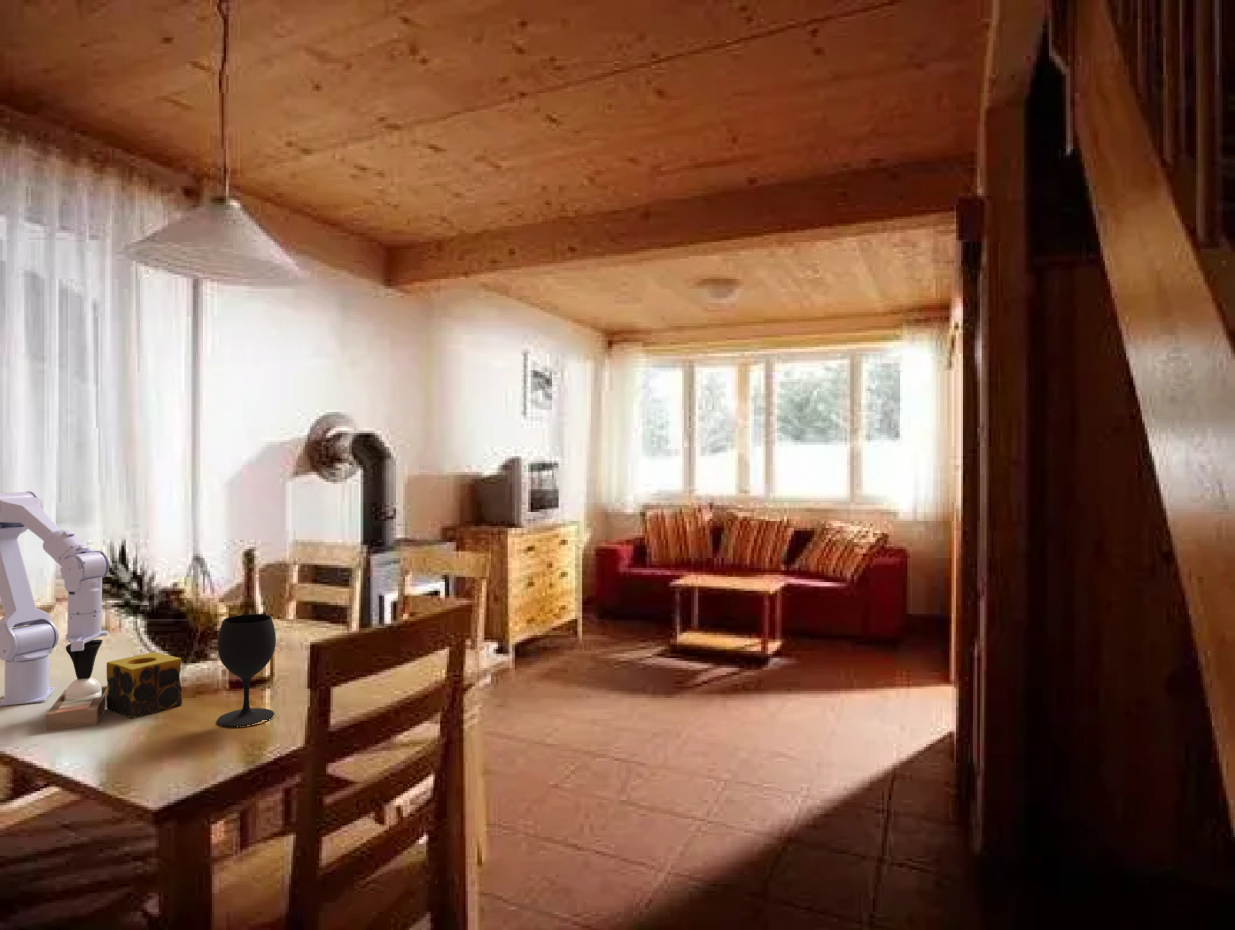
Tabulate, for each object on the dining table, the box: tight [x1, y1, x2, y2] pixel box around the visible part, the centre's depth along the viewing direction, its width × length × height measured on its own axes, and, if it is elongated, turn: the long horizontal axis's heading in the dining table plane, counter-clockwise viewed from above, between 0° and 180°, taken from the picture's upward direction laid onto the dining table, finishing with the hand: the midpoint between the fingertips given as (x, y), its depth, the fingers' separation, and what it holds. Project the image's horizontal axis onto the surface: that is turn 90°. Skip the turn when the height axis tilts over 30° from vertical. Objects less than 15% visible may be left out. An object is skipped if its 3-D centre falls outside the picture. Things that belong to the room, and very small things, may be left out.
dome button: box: [65, 677, 102, 700], centre depth 154 cm, size 6×6×6 cm
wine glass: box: [216, 613, 277, 728], centre depth 150 cm, size 10×10×20 cm
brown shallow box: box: [44, 685, 108, 731], centre depth 151 cm, size 16×8×3 cm, turn 26°
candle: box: [106, 651, 183, 719], centre depth 156 cm, size 10×10×10 cm
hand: (84, 677), depth 154 cm, fingers closed, pressing on dome button
